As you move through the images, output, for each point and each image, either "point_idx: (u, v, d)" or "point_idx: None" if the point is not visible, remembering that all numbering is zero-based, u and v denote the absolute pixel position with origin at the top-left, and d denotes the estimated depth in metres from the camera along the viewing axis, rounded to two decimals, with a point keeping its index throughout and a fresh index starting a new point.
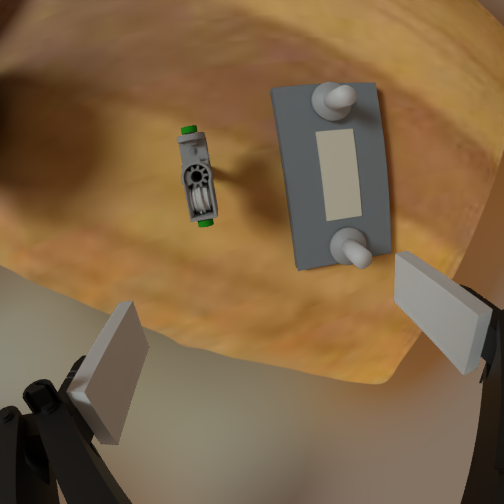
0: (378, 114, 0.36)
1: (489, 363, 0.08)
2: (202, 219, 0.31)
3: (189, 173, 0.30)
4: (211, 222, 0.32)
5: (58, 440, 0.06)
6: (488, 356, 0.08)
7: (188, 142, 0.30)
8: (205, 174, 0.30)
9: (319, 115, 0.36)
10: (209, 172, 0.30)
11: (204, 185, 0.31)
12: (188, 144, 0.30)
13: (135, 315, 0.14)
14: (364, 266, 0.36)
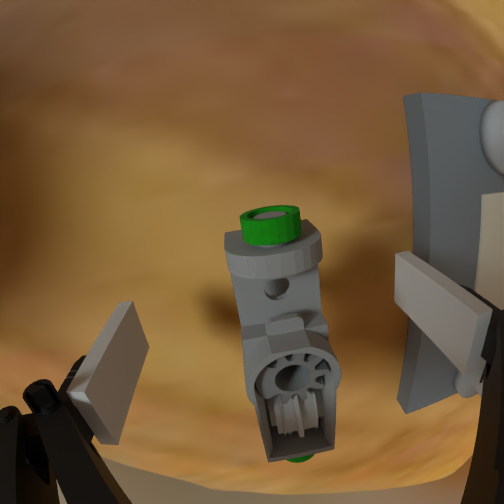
0: None
1: (488, 363, 0.08)
2: (297, 455, 0.11)
3: (272, 372, 0.09)
4: None
5: (58, 440, 0.06)
6: (488, 356, 0.08)
7: None
8: (320, 369, 0.09)
9: (493, 164, 0.15)
10: (337, 370, 0.09)
11: None
12: None
13: (135, 315, 0.14)
14: None
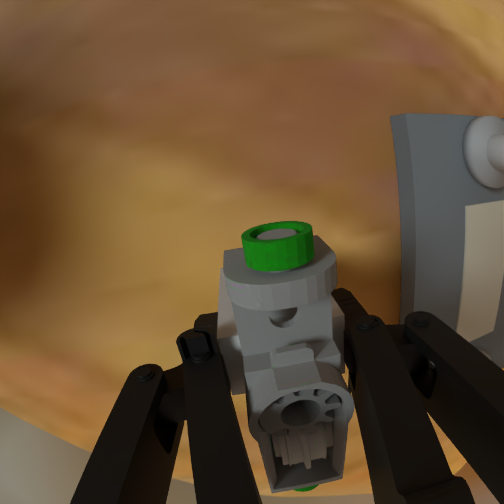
0: None
1: (352, 374, 0.10)
2: None
3: (277, 407, 0.08)
4: None
5: (202, 391, 0.08)
6: (349, 367, 0.10)
7: None
8: (331, 403, 0.08)
9: (476, 176, 0.17)
10: (349, 404, 0.08)
11: None
12: None
13: None
14: None
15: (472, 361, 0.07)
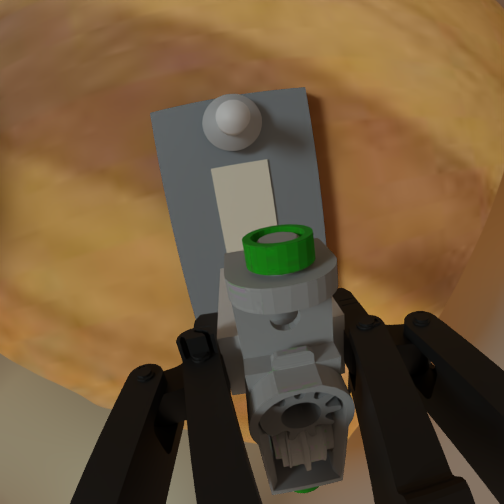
0: (309, 135, 0.27)
1: (352, 374, 0.10)
2: None
3: (278, 410, 0.08)
4: None
5: (203, 391, 0.08)
6: (349, 367, 0.10)
7: None
8: (331, 405, 0.08)
9: None
10: (350, 407, 0.08)
11: None
12: None
13: None
14: None
15: (472, 361, 0.07)
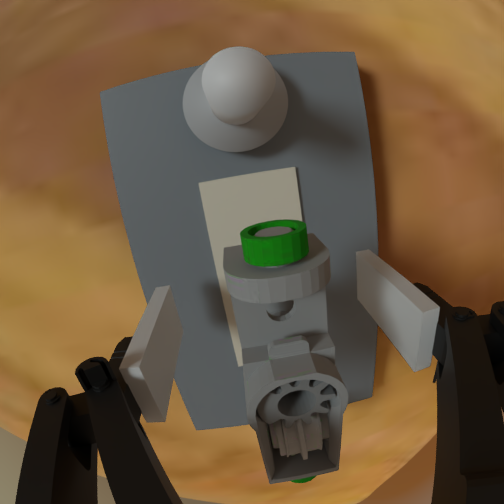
0: (363, 128, 0.16)
1: (441, 363, 0.09)
2: None
3: (274, 398, 0.08)
4: None
5: (108, 418, 0.07)
6: (439, 356, 0.09)
7: None
8: (326, 394, 0.09)
9: None
10: (344, 395, 0.08)
11: None
12: None
13: (172, 299, 0.15)
14: None
15: None
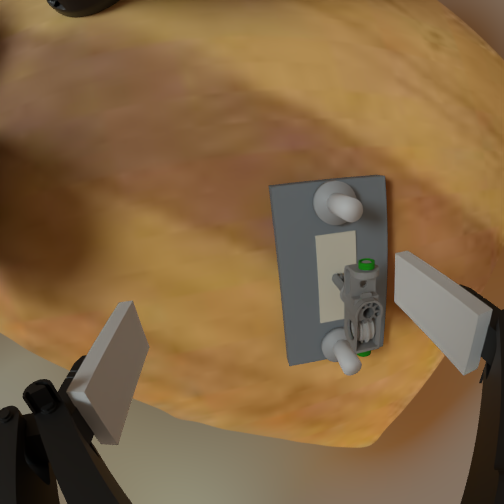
0: (384, 212, 0.36)
1: (489, 363, 0.08)
2: (365, 350, 0.30)
3: (362, 310, 0.29)
4: (370, 351, 0.30)
5: (58, 440, 0.06)
6: (488, 356, 0.08)
7: None
8: (376, 310, 0.29)
9: (320, 219, 0.35)
10: (382, 310, 0.28)
11: None
12: None
13: (135, 315, 0.14)
14: (353, 373, 0.35)
15: None
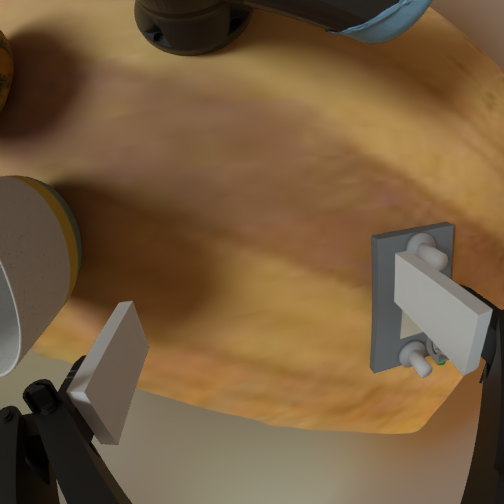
0: (451, 253, 0.42)
1: (489, 363, 0.08)
2: (443, 361, 0.36)
3: None
4: (445, 360, 0.37)
5: (58, 440, 0.06)
6: (488, 356, 0.08)
7: None
8: None
9: None
10: None
11: None
12: None
13: (135, 315, 0.14)
14: (426, 375, 0.42)
15: None
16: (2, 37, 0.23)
